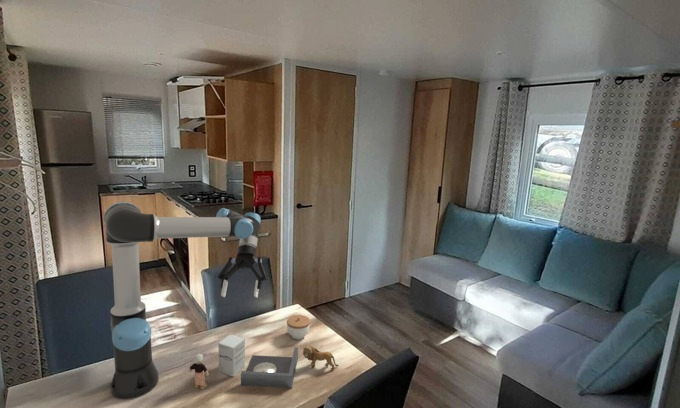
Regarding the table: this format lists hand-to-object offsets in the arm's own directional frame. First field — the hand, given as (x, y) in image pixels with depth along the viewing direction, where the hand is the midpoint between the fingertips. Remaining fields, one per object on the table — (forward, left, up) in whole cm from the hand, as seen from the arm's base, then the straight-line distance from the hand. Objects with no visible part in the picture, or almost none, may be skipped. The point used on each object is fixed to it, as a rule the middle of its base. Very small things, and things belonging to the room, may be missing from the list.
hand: (239, 296), depth 145 cm
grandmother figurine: (-10, -18, -27) cm, 34 cm away
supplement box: (-1, -8, -27) cm, 28 cm away
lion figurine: (+34, -4, -27) cm, 43 cm away
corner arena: (+15, -8, -27) cm, 32 cm away
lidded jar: (+22, +18, -27) cm, 40 cm away
